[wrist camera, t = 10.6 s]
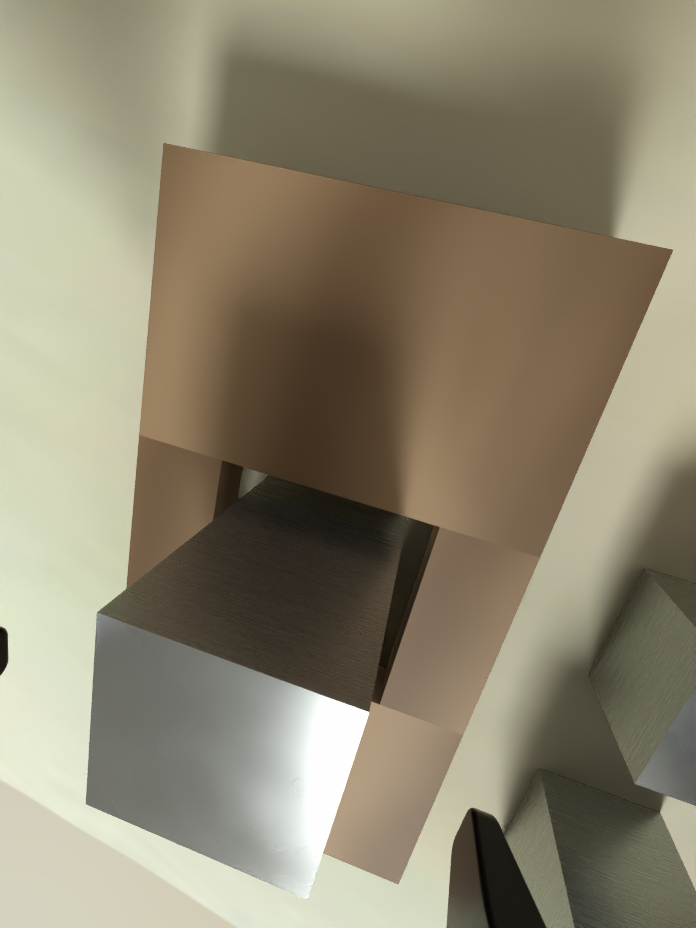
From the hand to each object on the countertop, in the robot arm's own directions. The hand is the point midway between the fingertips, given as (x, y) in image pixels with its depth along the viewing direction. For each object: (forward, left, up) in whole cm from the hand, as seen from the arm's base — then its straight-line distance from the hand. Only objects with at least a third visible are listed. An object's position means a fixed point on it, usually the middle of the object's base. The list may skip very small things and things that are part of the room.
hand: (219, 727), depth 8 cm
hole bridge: (0, 0, -8) cm, 8 cm away
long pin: (0, 0, -8) cm, 8 cm away
